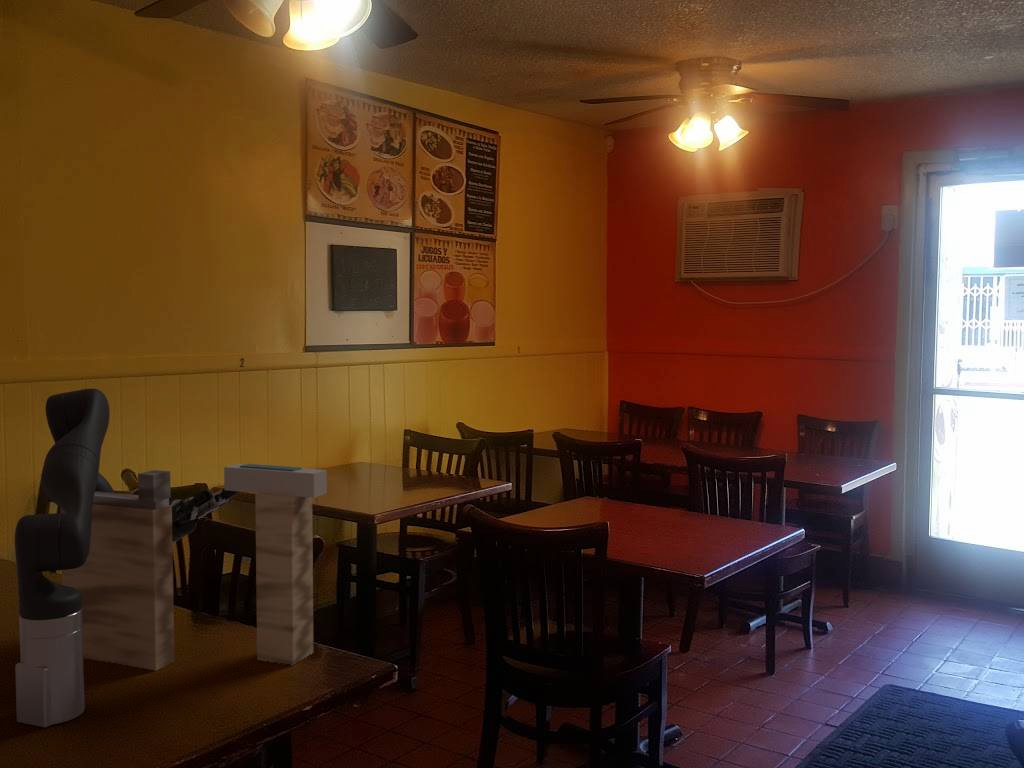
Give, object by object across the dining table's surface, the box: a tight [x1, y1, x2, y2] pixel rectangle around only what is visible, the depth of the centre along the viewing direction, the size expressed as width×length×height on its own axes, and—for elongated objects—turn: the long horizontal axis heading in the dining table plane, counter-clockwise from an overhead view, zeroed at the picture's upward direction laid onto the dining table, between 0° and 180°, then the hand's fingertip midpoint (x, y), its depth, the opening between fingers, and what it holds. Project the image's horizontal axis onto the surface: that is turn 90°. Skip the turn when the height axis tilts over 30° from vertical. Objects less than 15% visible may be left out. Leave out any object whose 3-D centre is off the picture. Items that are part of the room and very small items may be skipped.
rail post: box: [59, 469, 175, 671], centre depth 178 cm, size 5×22×36 cm, turn 70°
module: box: [223, 463, 328, 499], centre depth 179 cm, size 20×4×5 cm, turn 70°
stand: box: [254, 493, 314, 666], centre depth 180 cm, size 7×8×32 cm
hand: (224, 489), depth 184 cm, fingers open, 8 cm apart
